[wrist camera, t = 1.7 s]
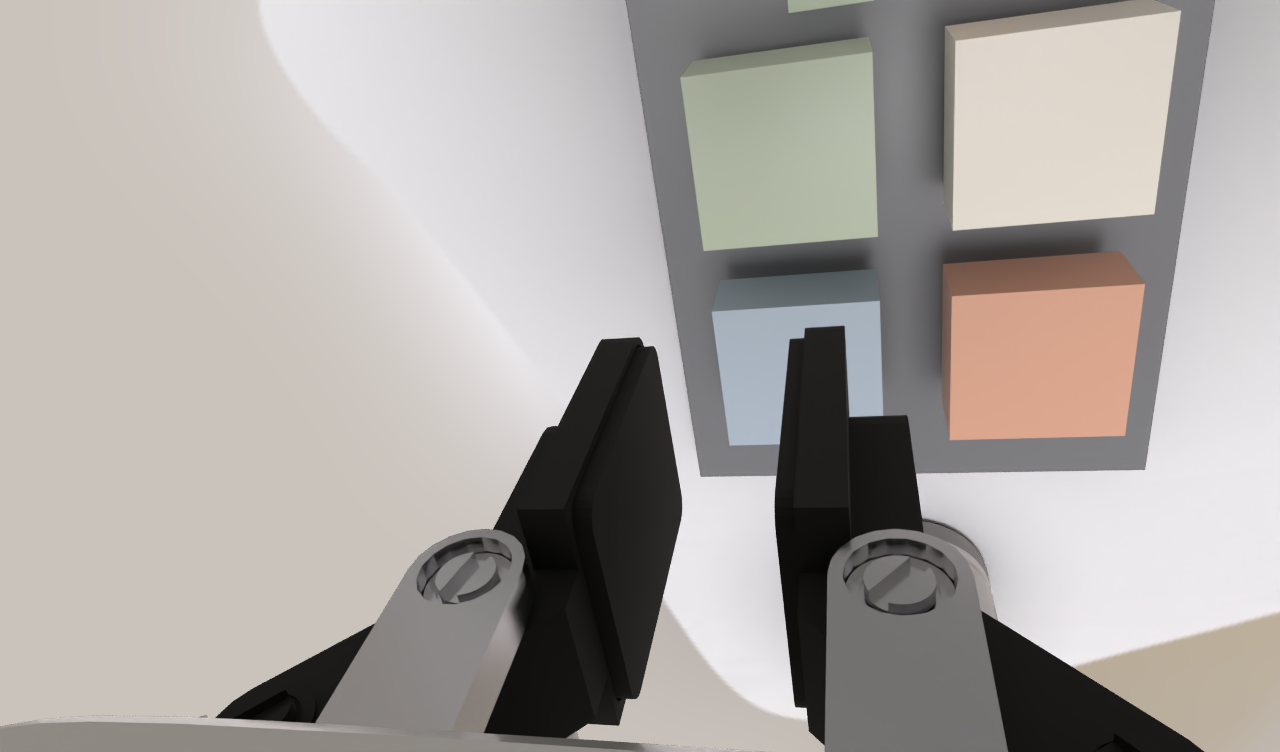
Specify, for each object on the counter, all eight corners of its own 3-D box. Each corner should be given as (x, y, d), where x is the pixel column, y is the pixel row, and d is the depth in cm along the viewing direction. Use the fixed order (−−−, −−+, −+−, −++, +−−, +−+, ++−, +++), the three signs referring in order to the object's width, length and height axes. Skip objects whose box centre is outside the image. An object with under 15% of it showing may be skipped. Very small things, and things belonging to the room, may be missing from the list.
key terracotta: (1120, 251, 25) (1145, 283, 23) (1103, 394, 28) (1125, 435, 26) (942, 263, 27) (951, 296, 25) (941, 400, 29) (949, 440, 27)
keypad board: (1213, -193, 22) (1251, -200, 20) (1128, 438, 32) (1148, 476, 30) (627, -85, 26) (609, -82, 24) (706, 447, 36) (699, 482, 34)
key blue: (876, 269, 27) (880, 300, 25) (880, 402, 29) (883, 441, 27) (720, 280, 28) (711, 311, 26) (736, 407, 31) (729, 445, 29)
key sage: (869, 36, 24) (872, 52, 22) (874, 208, 26) (877, 236, 24) (692, 60, 25) (680, 77, 23) (713, 222, 27) (703, 251, 25)
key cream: (1148, -3, 22) (1181, 10, 20) (1127, 186, 24) (1154, 214, 22) (945, 26, 23) (955, 41, 21) (943, 202, 26) (952, 230, 24)
